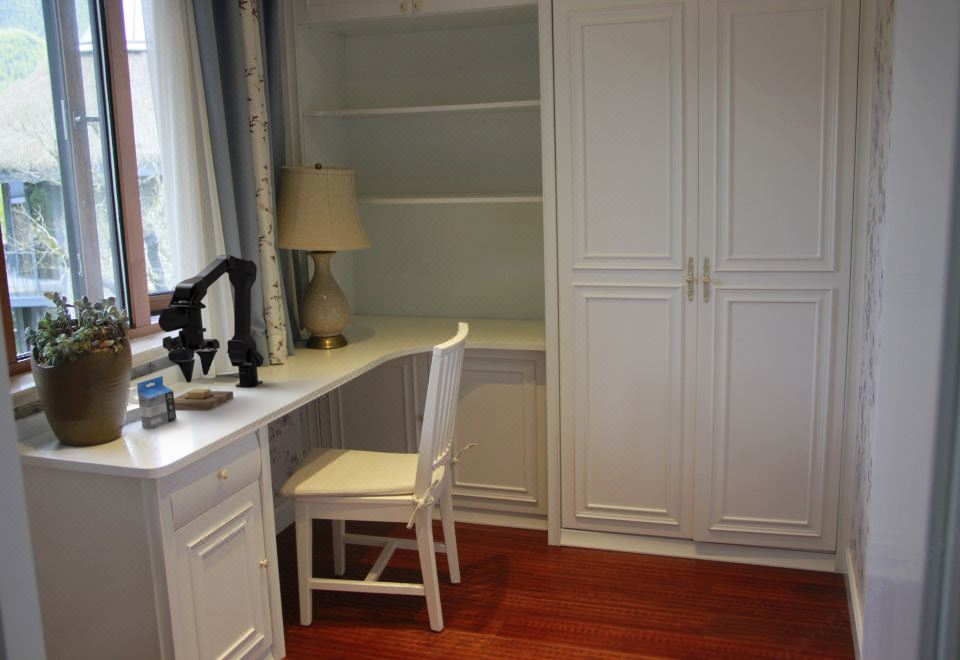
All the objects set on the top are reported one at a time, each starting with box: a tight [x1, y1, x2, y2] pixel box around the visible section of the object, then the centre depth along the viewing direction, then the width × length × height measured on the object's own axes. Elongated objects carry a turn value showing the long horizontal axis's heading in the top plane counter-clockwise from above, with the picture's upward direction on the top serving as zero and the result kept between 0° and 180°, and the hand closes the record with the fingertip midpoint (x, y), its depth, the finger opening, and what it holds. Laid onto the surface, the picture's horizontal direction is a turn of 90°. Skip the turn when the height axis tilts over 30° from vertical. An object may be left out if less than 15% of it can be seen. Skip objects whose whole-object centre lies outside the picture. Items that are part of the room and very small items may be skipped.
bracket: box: [123, 386, 141, 425], centre depth 239 cm, size 13×7×8 cm, turn 152°
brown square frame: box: [174, 389, 234, 412], centre depth 254 cm, size 14×14×2 cm
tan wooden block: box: [187, 388, 211, 400], centre depth 253 cm, size 4×5×4 cm
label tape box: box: [136, 375, 177, 429], centre depth 233 cm, size 9×4×12 cm, turn 153°
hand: (197, 378), depth 252 cm, fingers open, 9 cm apart
